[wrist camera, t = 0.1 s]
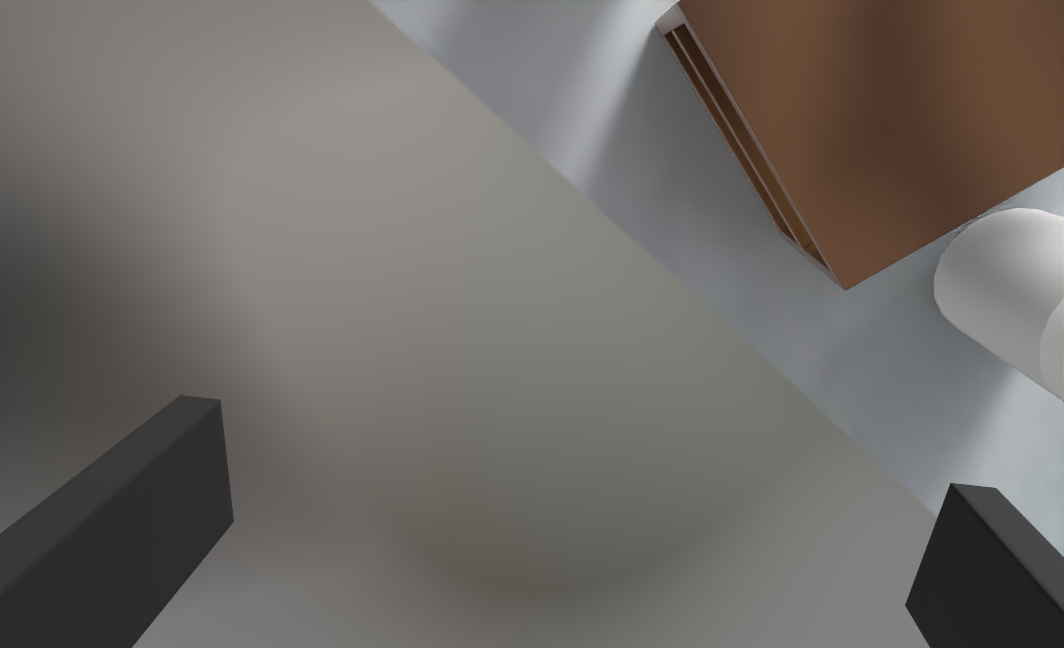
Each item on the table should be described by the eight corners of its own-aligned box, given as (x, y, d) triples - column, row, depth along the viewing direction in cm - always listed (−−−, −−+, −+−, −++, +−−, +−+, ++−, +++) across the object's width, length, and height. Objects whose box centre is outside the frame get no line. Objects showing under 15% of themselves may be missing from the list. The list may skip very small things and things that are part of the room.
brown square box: (870, -140, 31) (990, -234, 21) (990, 112, 34) (1138, 125, 25) (653, 23, 34) (676, 3, 25) (782, 238, 37) (845, 291, 28)
